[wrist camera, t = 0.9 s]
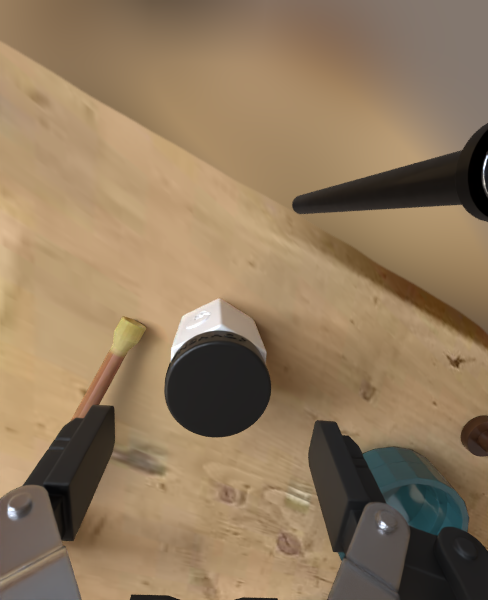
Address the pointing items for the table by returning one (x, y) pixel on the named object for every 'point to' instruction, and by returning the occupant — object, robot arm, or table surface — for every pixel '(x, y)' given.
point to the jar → (217, 371)
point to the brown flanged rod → (476, 436)
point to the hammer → (111, 363)
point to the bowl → (416, 490)
